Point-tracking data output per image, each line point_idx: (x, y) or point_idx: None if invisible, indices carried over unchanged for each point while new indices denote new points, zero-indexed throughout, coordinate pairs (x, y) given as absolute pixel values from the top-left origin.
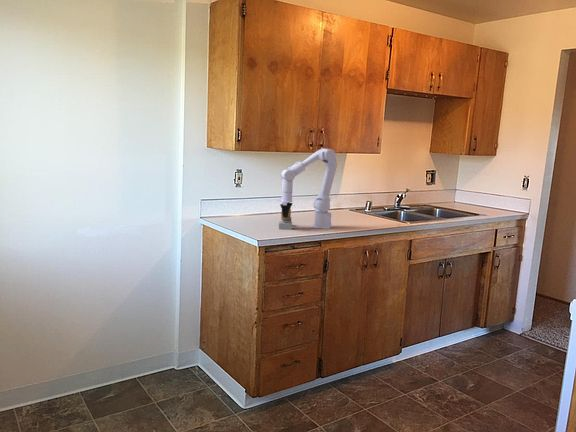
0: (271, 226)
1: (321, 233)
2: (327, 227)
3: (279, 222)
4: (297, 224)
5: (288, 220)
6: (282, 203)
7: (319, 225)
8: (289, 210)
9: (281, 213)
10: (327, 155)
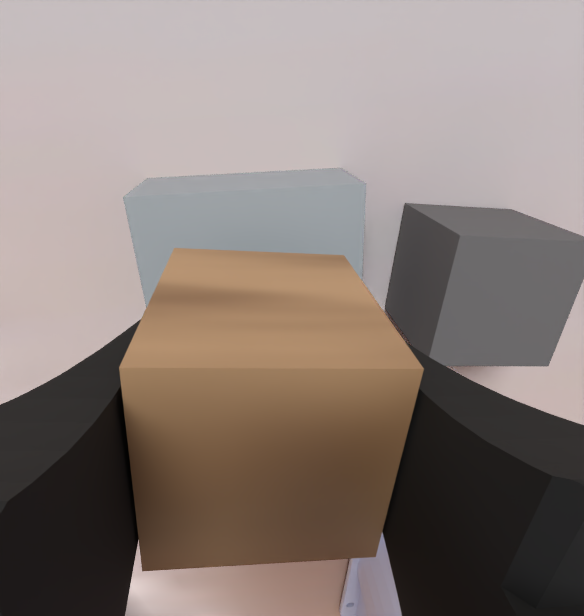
0: (363, 24)
1: (131, 587)
2: (358, 608)
3: (215, 196)
4: (545, 368)
5: (422, 324)
6: (572, 503)
7: (364, 579)
8: (144, 557)
9: (150, 304)
10: None
